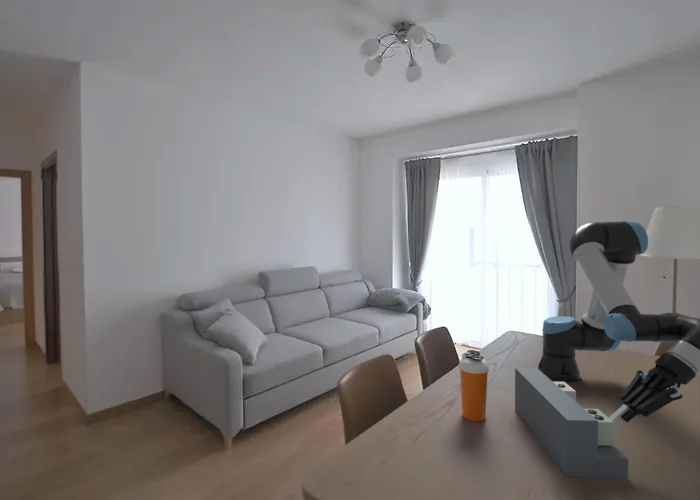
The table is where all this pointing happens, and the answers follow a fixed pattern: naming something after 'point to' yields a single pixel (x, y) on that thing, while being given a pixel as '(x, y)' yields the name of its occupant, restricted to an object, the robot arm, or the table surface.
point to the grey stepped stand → (565, 428)
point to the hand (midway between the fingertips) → (610, 425)
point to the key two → (603, 427)
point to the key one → (567, 389)
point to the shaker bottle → (473, 386)
